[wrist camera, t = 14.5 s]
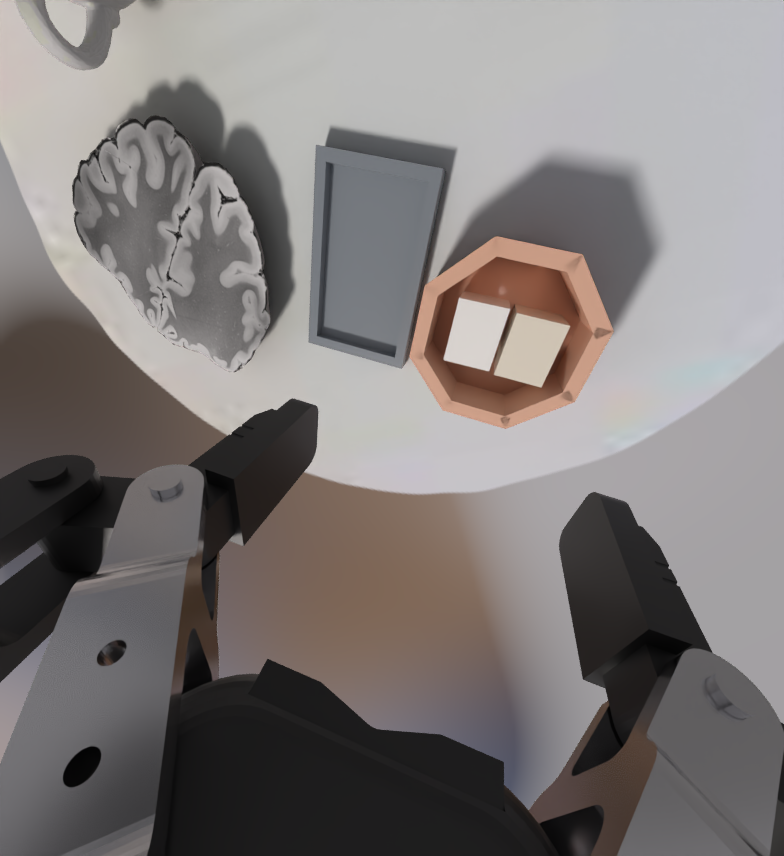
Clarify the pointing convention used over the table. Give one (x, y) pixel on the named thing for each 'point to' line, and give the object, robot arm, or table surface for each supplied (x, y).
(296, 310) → the table surface
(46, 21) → the teacup
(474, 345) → the stone
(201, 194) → the brain slice
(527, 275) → the bowl
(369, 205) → the tray
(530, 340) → the stone
